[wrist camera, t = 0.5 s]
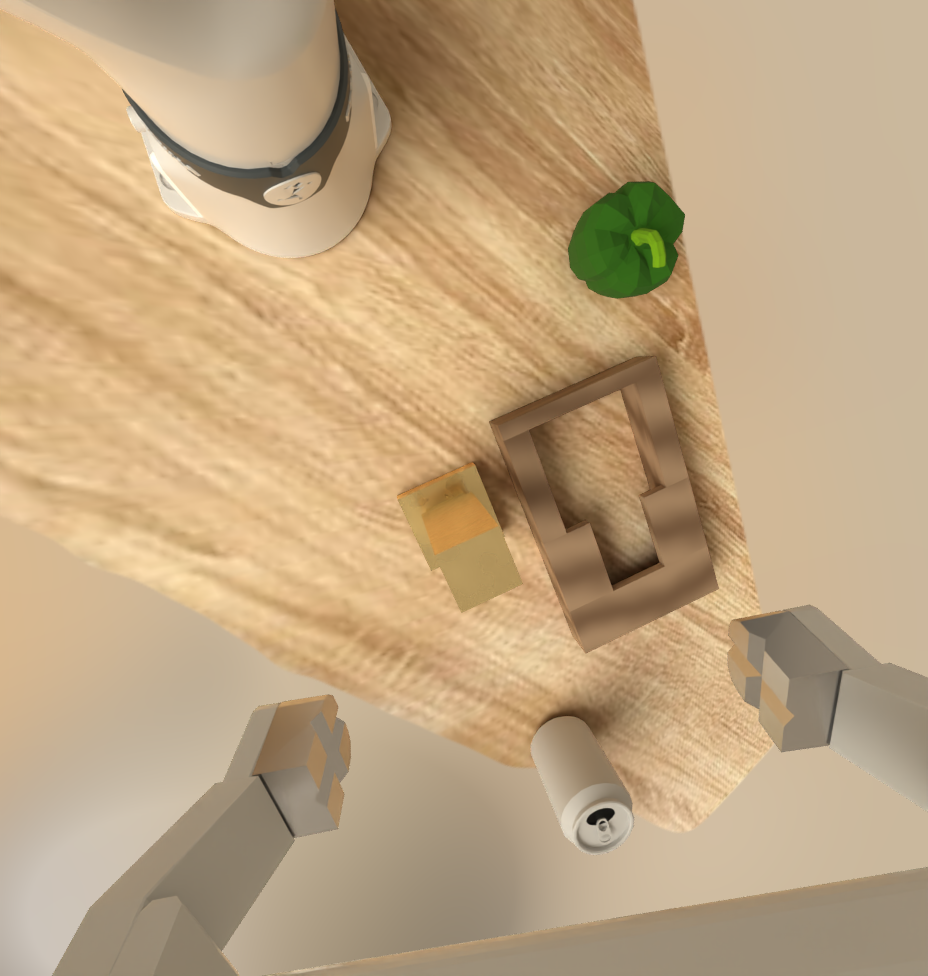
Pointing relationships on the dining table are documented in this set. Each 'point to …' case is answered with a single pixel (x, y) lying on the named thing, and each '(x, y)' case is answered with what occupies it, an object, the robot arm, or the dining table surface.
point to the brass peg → (461, 536)
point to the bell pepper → (627, 241)
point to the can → (582, 786)
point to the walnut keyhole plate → (574, 551)
